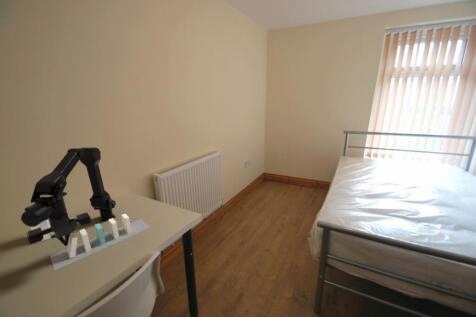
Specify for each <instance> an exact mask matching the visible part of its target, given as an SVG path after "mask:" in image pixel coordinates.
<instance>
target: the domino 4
mask: <svg viewBox="0 0 476 317" xmlns="http://www.w3.org/2000/svg"><path fill="white" fill-rule="evenodd" d="M108 223H109V224H108V225H109V229H110V230H109V231H111V235H112V236H113V237H114V239H117V238H119V233H118V228H119V227H118V222H117V221H116V220H115V218H112V219H109V220H108Z"/></svg>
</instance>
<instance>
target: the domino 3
mask: <svg viewBox="0 0 476 317" xmlns="http://www.w3.org/2000/svg"><path fill="white" fill-rule="evenodd" d="M94 229H95V233H96V237H97V238H98V241H99V243H100V244H101V245H104V244H106V241H105V236H104V234H105V232H104V228H103V226H102V224H101V223H96V224H94Z"/></svg>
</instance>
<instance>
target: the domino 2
mask: <svg viewBox="0 0 476 317" xmlns="http://www.w3.org/2000/svg"><path fill="white" fill-rule="evenodd" d="M79 235H80V239H81V243H83V247H84V249H85V251H86V252H87V251H90V250H91V246H90V242H89V240H90V238H89V234H88V232H87V231H86V229H85V228H83V229H80V230H79Z"/></svg>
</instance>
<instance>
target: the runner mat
mask: <svg viewBox="0 0 476 317" xmlns="http://www.w3.org/2000/svg"><path fill="white" fill-rule="evenodd" d="M130 225H131V231H132V232H131V233H128V234H127V232H126V231H125V230H124V228H123V225H122V226H120V227H117V228H118V233H119V238H117V239H114V237H113V236H112V235H111V230H109V232H108V231H107V232H104V236H105V241H106V244H104V245H101V244H100V243H99V241H98V238H97V236H96V237H93V238H91V239H89V242H90V246H91V250H90V251H87V252H86V251H85V249H84V247H83V243H82V242H80V243H79V244H78V243H77V248H76V256H75V257H72V258H70V257H69V255H68V253H67V250H68V248H66V249H63V250H61V251H58V252H57V253H53V254H52V255H49V256H50V260H51V264H52V266H53V270H54V271H57V270H60V269H62V268H64V267H66V266H68V265H71V264H73V263H75V262H77V261H79V260H81V259H84V258H87V257H88V256H91V255H93V254H95V253H97V252H100V251H102V250H104V249H106V248H108V247H111V246H113V245H115V244H117V243H120V242H121V241H124V240H126V239H128V238H130V237H132V236H135V235H137V234H139V233H141V232H145V231H146V230H148V229H151V228H152V227H151V226H150V225H149V224H148V222H146V221H145V220H143V218H140V219H137V220H134V221H133V222H130Z"/></svg>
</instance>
